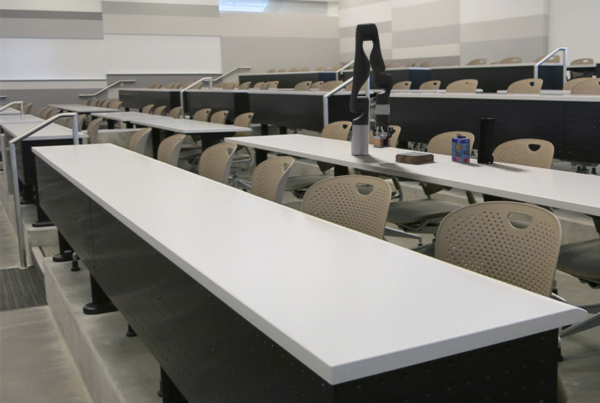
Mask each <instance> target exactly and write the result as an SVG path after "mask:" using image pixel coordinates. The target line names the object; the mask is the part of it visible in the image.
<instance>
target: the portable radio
mask: <svg viewBox="0 0 600 403" xmlns="http://www.w3.org/2000/svg"><path fill="white" fill-rule="evenodd" d="M495 124H496V118H494V117H487V113H485V116H484V117H481V118H479V129H478V130H479V131H478V136H479V138H478V139H479V140H478V147H477V157H476V158H477V159H476V162H477V164H480V163H489V162H493V163H494V162H495V161H494V158H495V157H494V156H493V151H494V150H493V148H494V145H493V144H494V125H495Z"/></svg>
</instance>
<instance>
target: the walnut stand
mask: <svg viewBox="0 0 600 403" xmlns="http://www.w3.org/2000/svg"><path fill="white" fill-rule="evenodd" d="M395 162H396V163H405V164H412V165H420V164H425V163H426V162H427V163H433V162H435V155H434V154H433V153H427V152H418V151H417V152H416V151H412V152H401V153H397V154H396V155H395Z"/></svg>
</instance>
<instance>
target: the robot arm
mask: <svg viewBox="0 0 600 403" xmlns="http://www.w3.org/2000/svg"><path fill="white" fill-rule="evenodd" d="M378 29H379V28H378V27H377V25H376V23H374V22H366V23H365V22H364V23H358V24H357V25H356V28H355V36H354V37H355V44H354V46H355V48H354V59H353V61H354V62H353V69H352V82H351V83H352V86H351V92H350V99H349V111H350V112H351V113H354V114H356V113H357V114H358V113H361V115H359V116H358V117H355V118H354V119H352V127H351V128H352V132H351V133H352V137H351V138H350V139H351V142H350V143H351V145H350V147H351V148H350V149H351V152H350V153H351V155H352V156H353V155H354V156H367V155H369V148H370V147H369V146H370V145H369V142H370V141H369V132H370V131H369V122H370V121H369V119H370V118H369V117H370V115H369V114H370V98H369V97H368V96H366V95H364V96H363V95H360V96H359V93H360V91H361V89H362V87H363V86H364V85H365V84H366V83H367V81H368V79H369V78H370V74H371V73H372V86H374V88H376V89H383V90H382V91H381V92H378V93H376V95H375V111H374V112H375V114H374V115H375V116H374V118H375V119H374V120H375V122H374V123H375V125H371V130H372V136H379V135H384V146H388V139H389V138H390V139H392V137H393V132H394V126H390V120H391V119H390V118H391V113H390V112H391V107H390V99H391V98H390V97H391V92H392V88H393V85H394V78H393V75H391V74H390V73H384V72H386V70H387V68H386V65H385V61H384V58H383V54H382V49H381V40H380V35H379V30H378ZM364 42H371V43H372V48H371V51H370V54H369V57H368V56H367V54H366V52H365V50H364ZM371 71H372V72H371ZM370 72H371V73H370ZM389 135H390V136H389Z"/></svg>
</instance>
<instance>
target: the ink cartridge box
mask: <svg viewBox="0 0 600 403" xmlns="http://www.w3.org/2000/svg"><path fill="white" fill-rule="evenodd" d="M456 136H457V137H452V138H451V162H456V163H460V164H464V163H465V164H466V163H470V162H471V140H470V138H467V137H462V136H463V135H462V134H459V133H456Z"/></svg>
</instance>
